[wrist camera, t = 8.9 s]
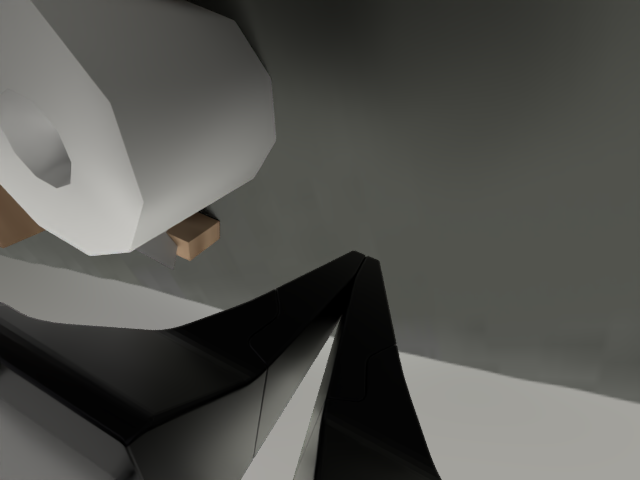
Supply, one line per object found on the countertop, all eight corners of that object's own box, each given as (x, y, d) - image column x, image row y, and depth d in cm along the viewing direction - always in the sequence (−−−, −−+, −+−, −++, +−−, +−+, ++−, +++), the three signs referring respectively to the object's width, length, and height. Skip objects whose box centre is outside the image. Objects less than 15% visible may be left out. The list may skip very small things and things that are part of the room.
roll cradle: (216, -98, 12) (-47, -250, 6) (219, 238, 22) (121, 313, 16) (32, -127, 15) (-298, -260, 8) (109, 190, 24) (-15, 238, 18)
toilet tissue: (179, 224, 23) (61, 295, 17) (117, 4, 16) (-132, -27, 10) (284, 248, 20) (193, 348, 14) (264, -7, 13) (54, -64, 7)
